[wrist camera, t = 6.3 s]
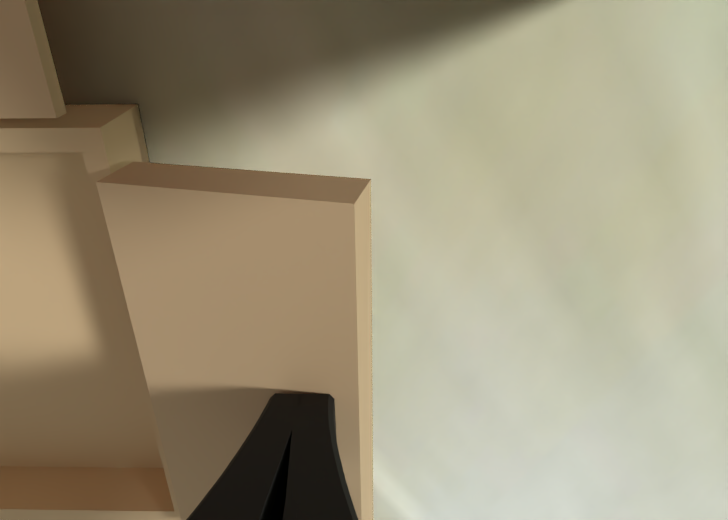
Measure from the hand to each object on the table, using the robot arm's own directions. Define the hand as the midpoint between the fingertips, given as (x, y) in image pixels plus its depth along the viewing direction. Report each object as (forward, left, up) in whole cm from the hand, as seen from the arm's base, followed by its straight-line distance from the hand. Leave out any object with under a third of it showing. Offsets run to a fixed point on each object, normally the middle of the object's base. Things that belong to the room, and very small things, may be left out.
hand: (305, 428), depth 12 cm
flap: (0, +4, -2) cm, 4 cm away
